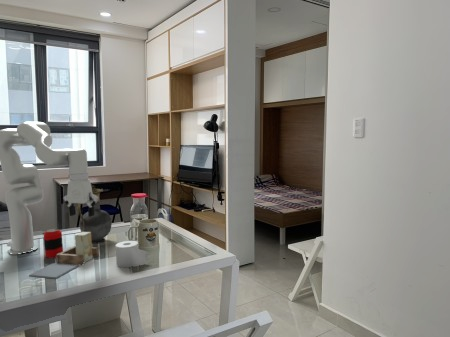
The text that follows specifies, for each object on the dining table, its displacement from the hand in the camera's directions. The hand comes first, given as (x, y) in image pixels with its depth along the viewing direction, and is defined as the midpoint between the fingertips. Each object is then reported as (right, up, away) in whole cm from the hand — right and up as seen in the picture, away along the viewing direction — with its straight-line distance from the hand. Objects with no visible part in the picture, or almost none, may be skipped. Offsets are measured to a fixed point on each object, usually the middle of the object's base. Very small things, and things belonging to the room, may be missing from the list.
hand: (82, 215), depth 156 cm
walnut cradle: (-3, -20, +3) cm, 21 cm away
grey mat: (-7, -22, -10) cm, 25 cm away
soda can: (-17, -20, +10) cm, 28 cm away
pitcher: (-5, -18, +28) cm, 34 cm away
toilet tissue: (+23, -20, -4) cm, 31 cm away
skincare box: (+1, -20, +2) cm, 21 cm away
